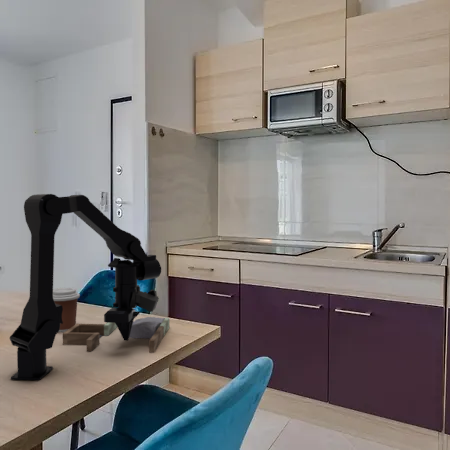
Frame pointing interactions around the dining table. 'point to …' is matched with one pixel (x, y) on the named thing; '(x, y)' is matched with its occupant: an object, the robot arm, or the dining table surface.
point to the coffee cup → (67, 306)
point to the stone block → (145, 327)
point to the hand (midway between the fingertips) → (126, 340)
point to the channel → (105, 334)
